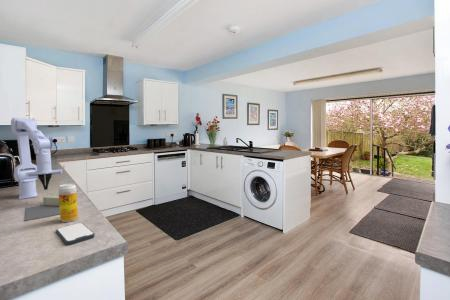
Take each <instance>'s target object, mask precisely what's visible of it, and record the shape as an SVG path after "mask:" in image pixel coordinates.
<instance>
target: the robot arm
mask: <svg viewBox="0 0 450 300" xmlns="http://www.w3.org/2000/svg"><path fill="white" fill-rule="evenodd" d="M37 128H38V123H37V120H36V119H35V118H31V117H29V118H27V117H26V118H24V117H13V118H11V120H10V129H11V132H12V134H14V135H16V138H17V145H18V146H17V148H18V155H19V164H18V165H17V166H15V167H14V169H13V171H14V172H13V177H14V180H15V181H16V182H18V189H19V191H18V192H19V196H18V199H19V200H23V199H29V198H36V197H38V195H39V194H38V192H37V182H36V181H37V180H39V181H40V183H41V184H42V186H43V190H44V191H45V190H49V189H48V188H49V184H50V181H51V178H52V175H58V174H59V175H60V174H63V172H64V171H63V169H62V168H61V169H52V168H53V167H52V155H51V150H52V149H53V142H52V139H51V138H50V137H46V136H45V135H44V133H43V132H42V131H41V130H39V129H37ZM29 139H30V140H31V142H32V146H33V151H34V154H35V158H36V164H34V163H32V158H31V157H32V156H31V150H30V140H29Z"/></svg>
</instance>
